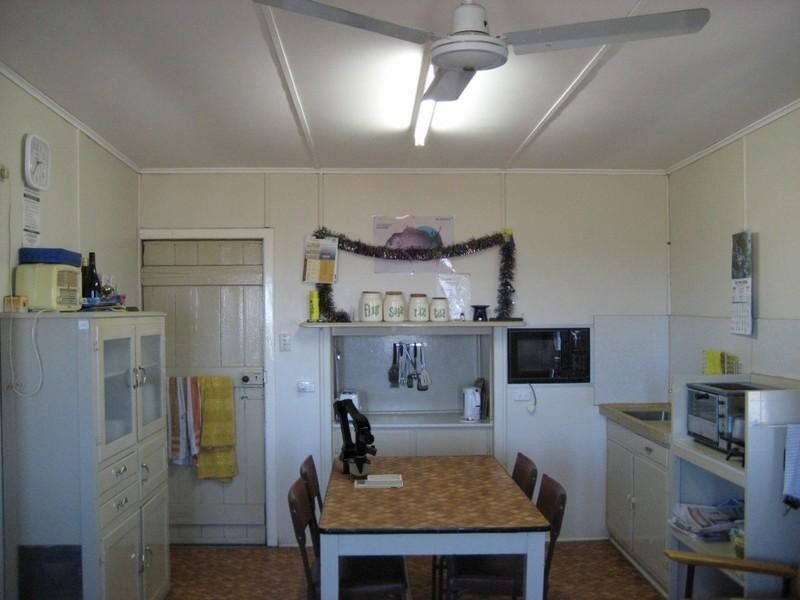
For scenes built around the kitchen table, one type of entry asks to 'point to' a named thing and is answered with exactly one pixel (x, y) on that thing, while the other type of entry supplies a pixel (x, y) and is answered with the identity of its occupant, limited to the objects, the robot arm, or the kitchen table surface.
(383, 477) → the dock
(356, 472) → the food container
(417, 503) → the kitchen table surface
